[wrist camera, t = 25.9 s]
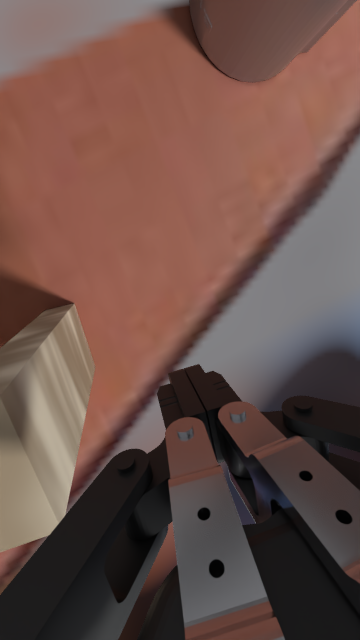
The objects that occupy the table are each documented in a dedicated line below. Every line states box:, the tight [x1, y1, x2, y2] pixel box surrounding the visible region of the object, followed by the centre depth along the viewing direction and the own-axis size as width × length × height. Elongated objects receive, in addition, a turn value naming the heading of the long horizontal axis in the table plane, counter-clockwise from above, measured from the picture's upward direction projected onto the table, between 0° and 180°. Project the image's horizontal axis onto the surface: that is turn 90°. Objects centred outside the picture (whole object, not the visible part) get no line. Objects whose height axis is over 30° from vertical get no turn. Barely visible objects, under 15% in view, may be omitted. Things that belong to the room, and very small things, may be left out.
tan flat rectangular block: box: [0, 304, 95, 552], centre depth 16 cm, size 2×6×15 cm, turn 11°
